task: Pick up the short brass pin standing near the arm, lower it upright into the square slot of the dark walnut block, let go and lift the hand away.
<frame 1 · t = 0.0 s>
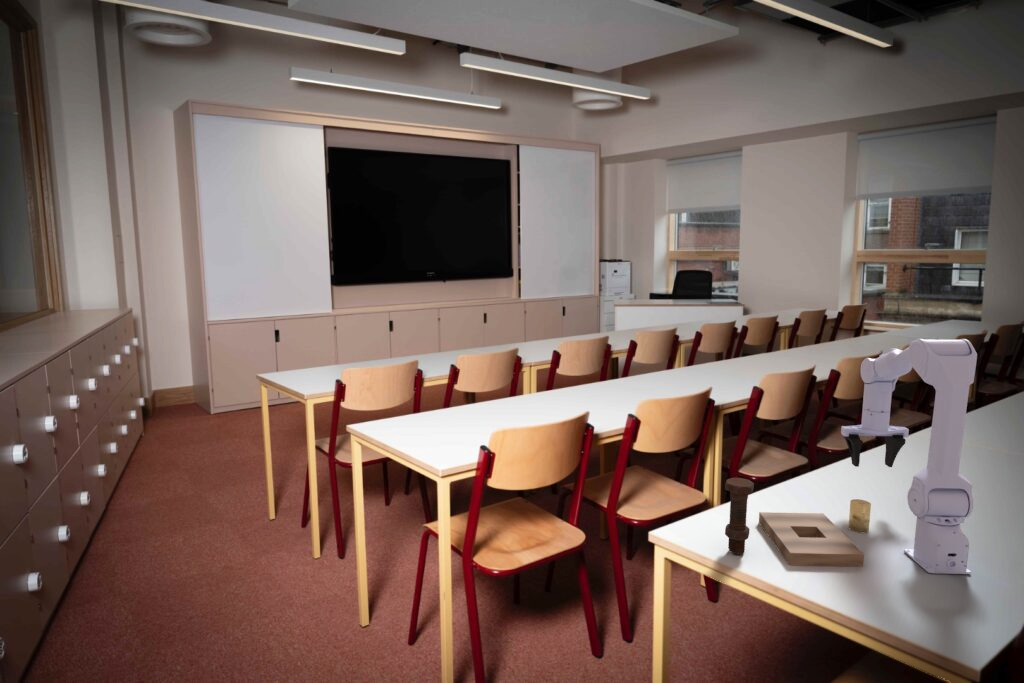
hand: (871, 465, 161), 10 cm above the table, tool pointing down, fingers open, 7 cm apart
slot block: (807, 543, 143), on the table
pin: (858, 528, 150), on the table
adjustable wrench: (935, 492, 173), on the table
bolt: (736, 553, 139), on the table
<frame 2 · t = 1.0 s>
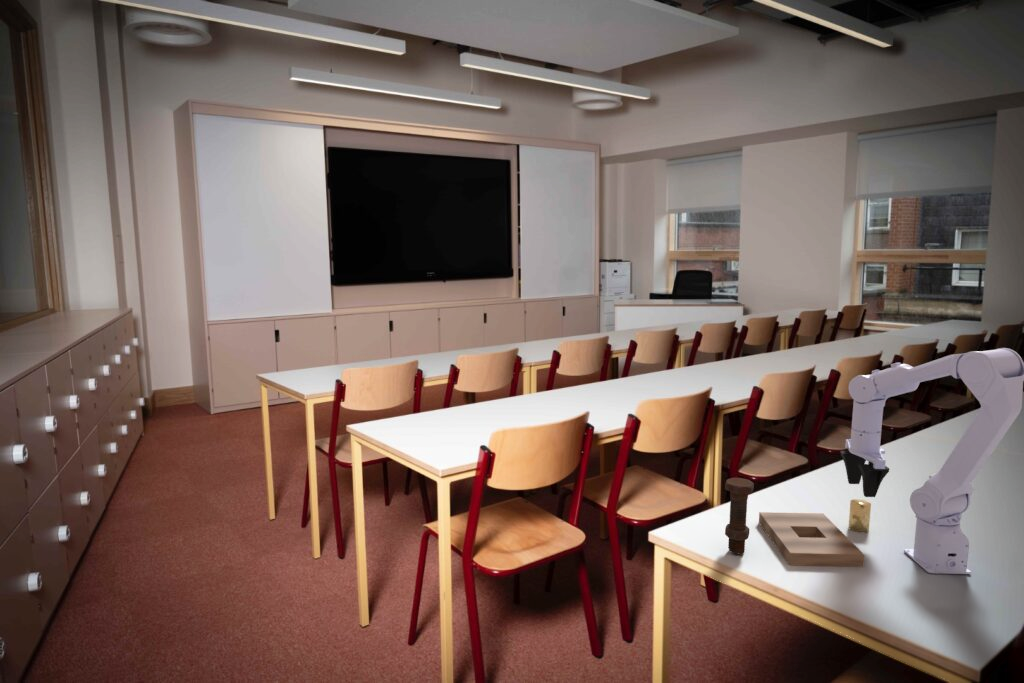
hand: (861, 489, 149), 9 cm above the table, tool pointing down, fingers open, 7 cm apart
nothing on the table moved.
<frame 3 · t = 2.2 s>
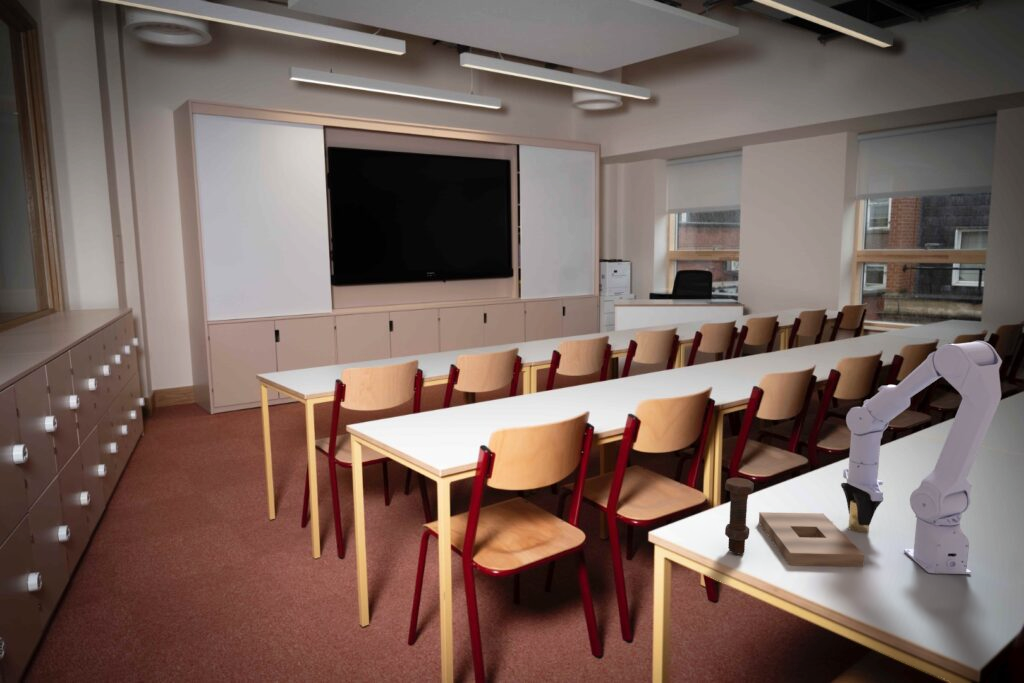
hand: (859, 520, 150), 2 cm above the table, tool pointing down, fingers closed on pin, 4 cm apart
pin: (858, 528, 150), on the table, touching gripper
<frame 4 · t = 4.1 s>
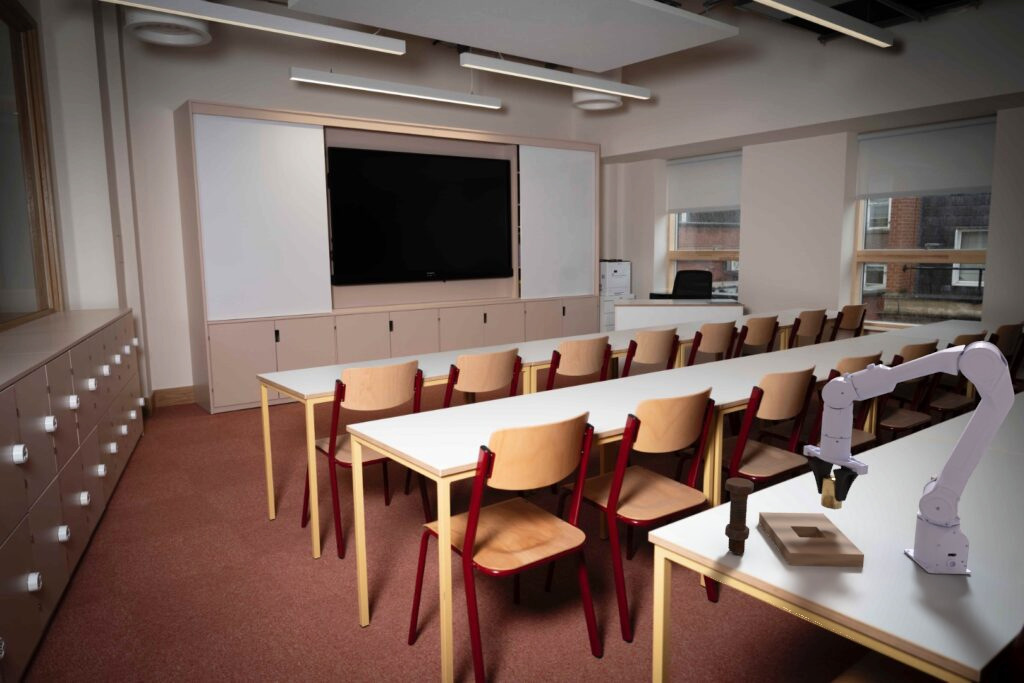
hand: (831, 496, 145), 9 cm above the table, tool pointing down, fingers closed on pin, 4 cm apart
pin: (831, 505, 145), point 7 cm above the table, touching gripper
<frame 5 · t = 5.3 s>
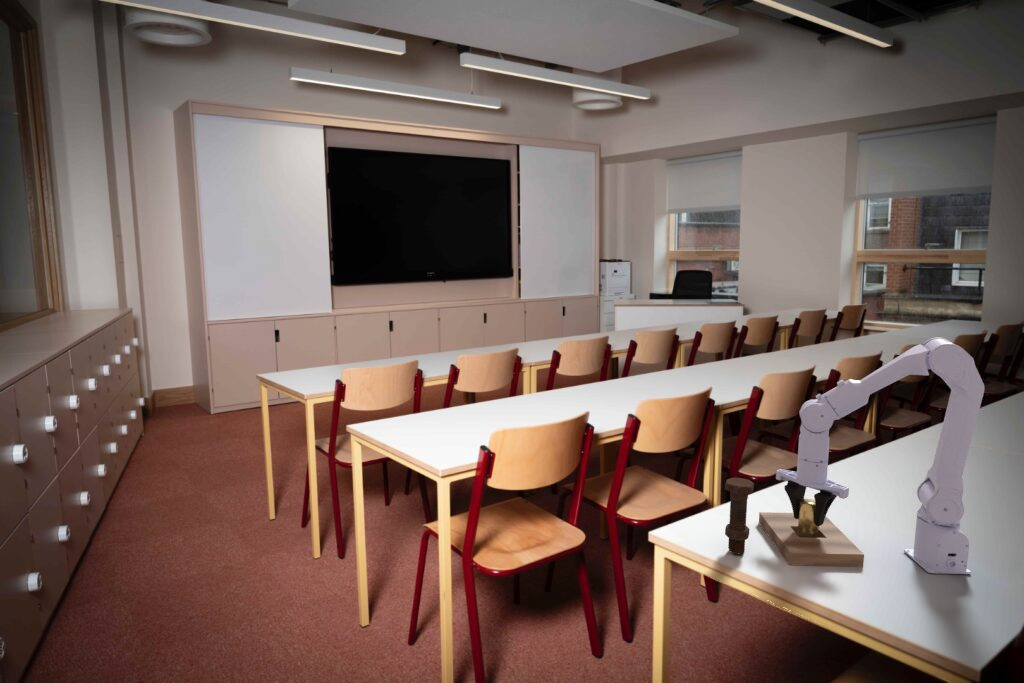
hand: (808, 521, 142), 5 cm above the table, tool pointing down, fingers closed on pin, 4 cm apart
pin: (808, 529, 143), point 3 cm above the table, touching gripper
when the fingers open (3 cm above the table, at t = 6.0 s): pin drops 1 cm, resting in slot block.
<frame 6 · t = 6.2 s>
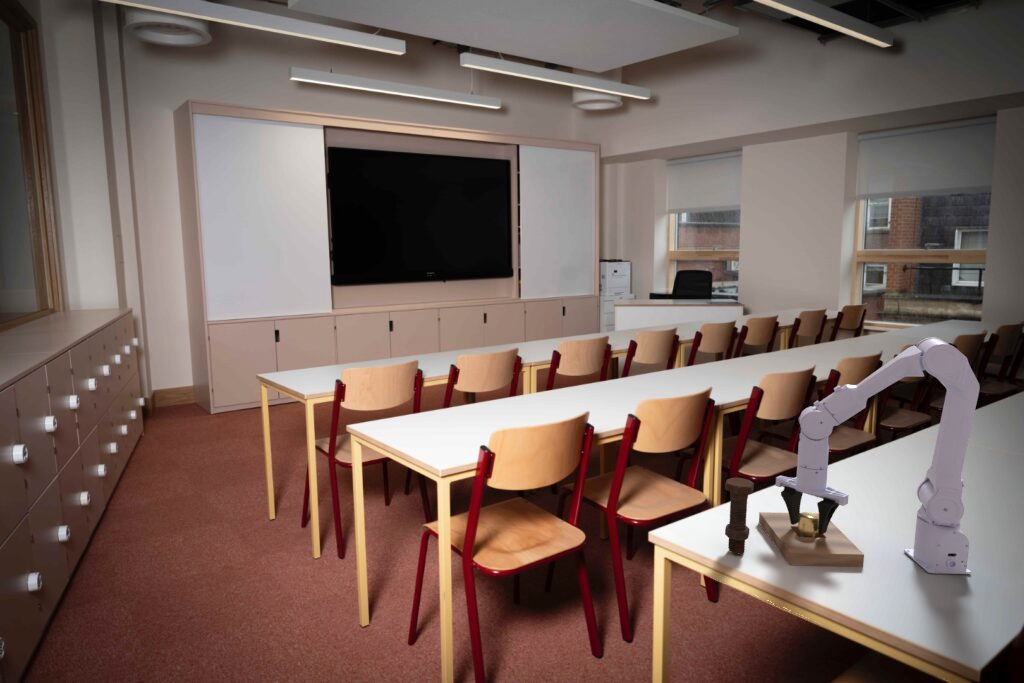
hand: (808, 527, 143), 3 cm above the table, tool pointing down, fingers open, 5 cm apart
pin: (807, 543, 143), resting in slot block
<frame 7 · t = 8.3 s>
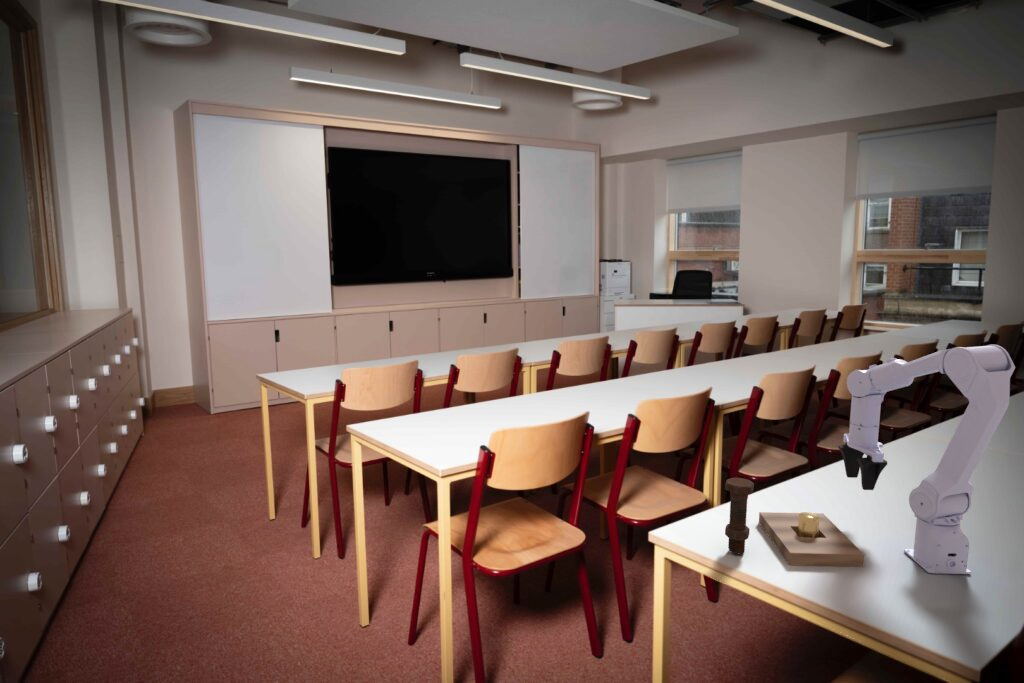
hand: (859, 483, 151), 9 cm above the table, tool pointing down, fingers open, 7 cm apart
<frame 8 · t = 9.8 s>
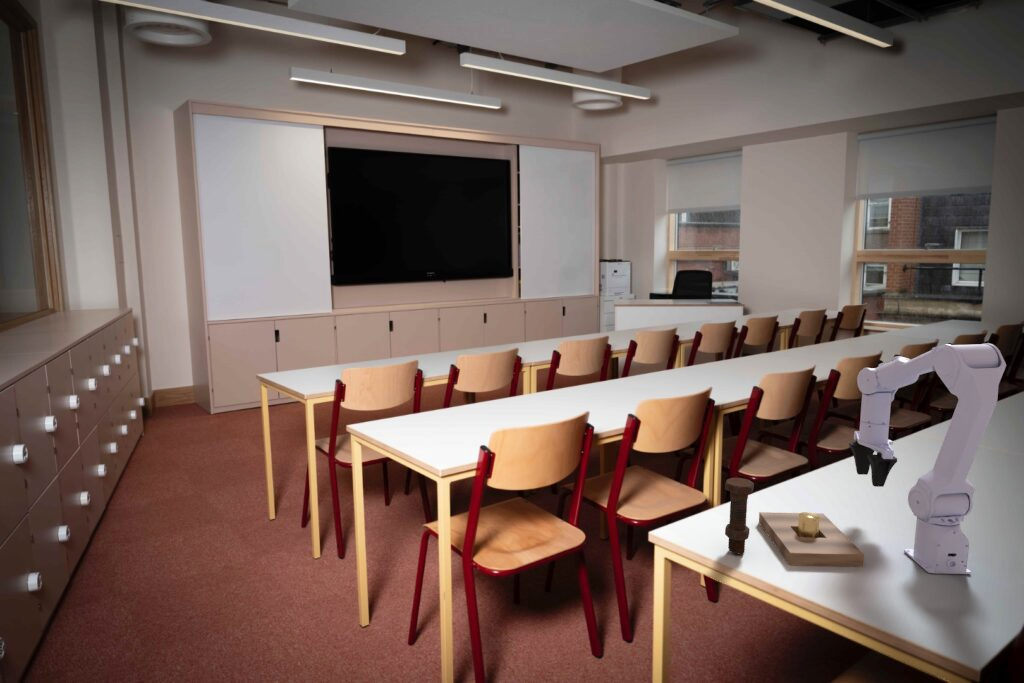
hand: (870, 479, 153), 9 cm above the table, tool pointing down, fingers open, 7 cm apart
at the end: pin 0.1 cm off-centre on the slot block, point 0.0 cm above the slot block's base; pin tilted 0°; the gripper is holding nothing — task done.
